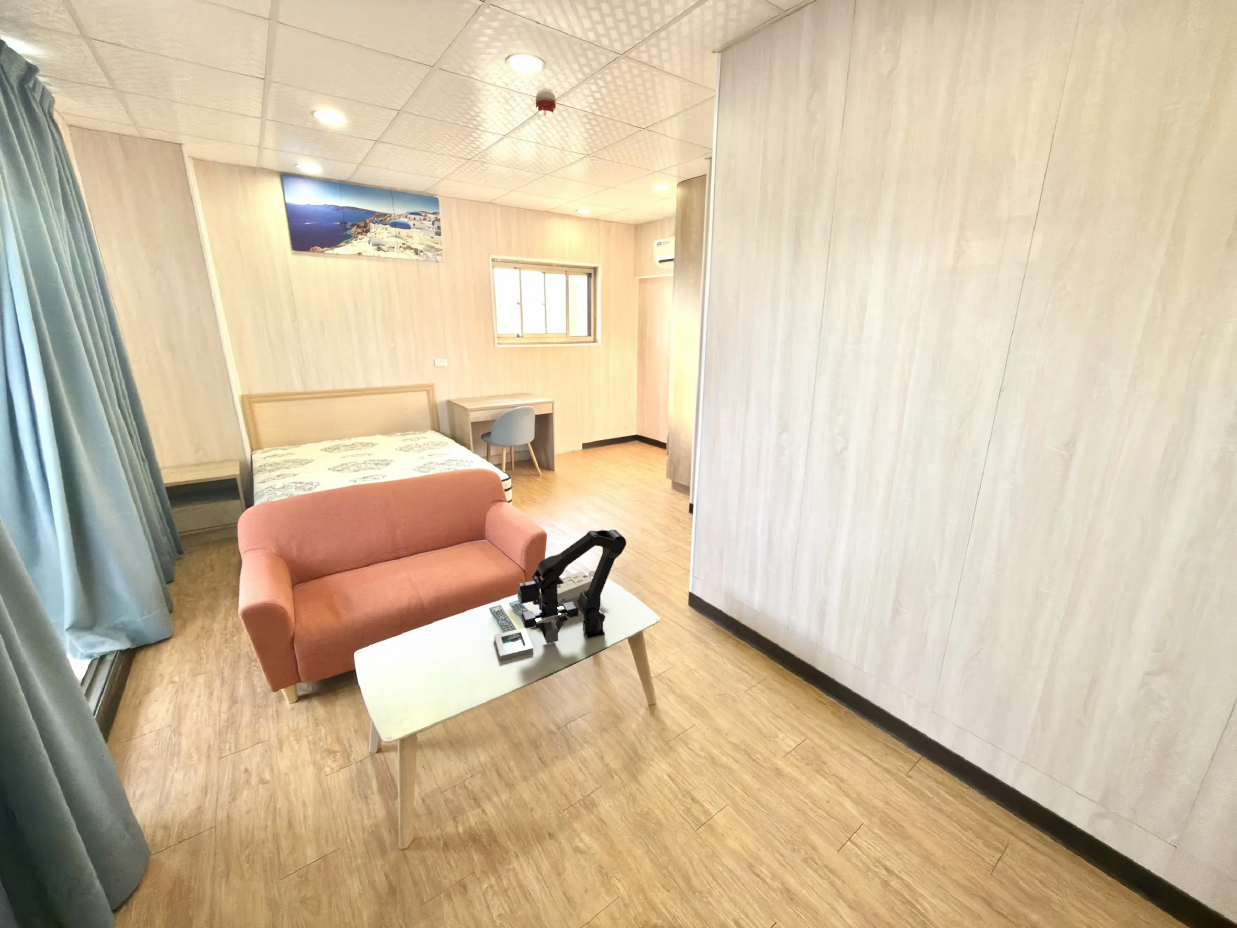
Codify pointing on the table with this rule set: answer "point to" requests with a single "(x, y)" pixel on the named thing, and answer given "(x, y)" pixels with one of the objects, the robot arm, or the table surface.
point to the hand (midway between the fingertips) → (550, 635)
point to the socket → (513, 644)
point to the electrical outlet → (573, 587)
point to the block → (551, 632)
